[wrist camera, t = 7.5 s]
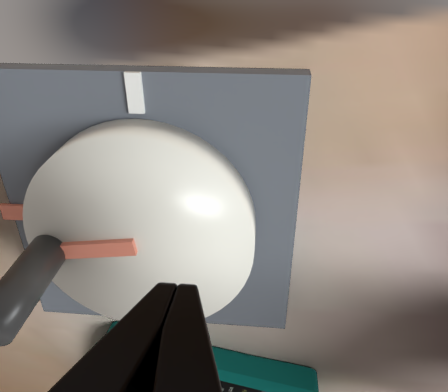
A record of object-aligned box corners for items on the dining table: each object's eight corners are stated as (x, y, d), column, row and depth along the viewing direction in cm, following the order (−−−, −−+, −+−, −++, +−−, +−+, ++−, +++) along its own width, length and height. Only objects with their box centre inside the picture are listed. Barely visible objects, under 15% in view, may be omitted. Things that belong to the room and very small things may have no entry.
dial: (8, 130, 19) (-109, 212, 13) (242, 106, 18) (228, 187, 12) (81, 302, 25) (21, 414, 19) (264, 296, 23) (263, 417, 17)
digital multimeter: (106, 311, 28) (90, 348, 25) (320, 363, 28) (325, 403, 26) (99, 376, 31) (84, 414, 29) (287, 420, 32) (288, 461, 29)
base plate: (309, 69, 18) (311, 76, 17) (284, 315, 26) (285, 331, 25) (-30, 62, 19) (-47, 68, 18) (43, 299, 27) (34, 313, 26)
